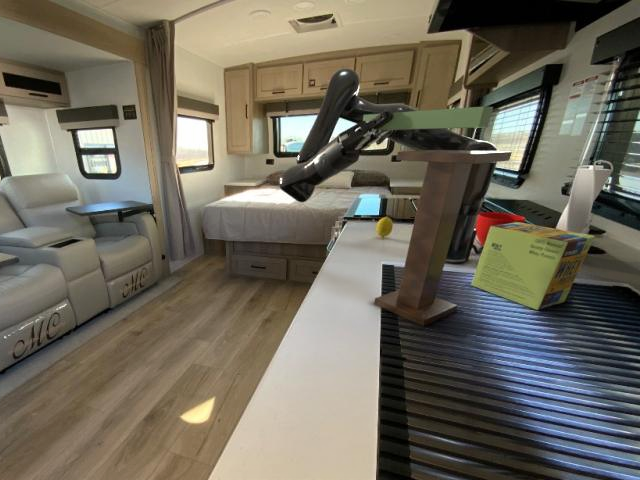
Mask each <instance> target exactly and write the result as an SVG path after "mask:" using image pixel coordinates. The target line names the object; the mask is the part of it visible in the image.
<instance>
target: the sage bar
mask: <svg viewBox="0 0 640 480" xmlns="http://www.w3.org/2000/svg"><path fill="white" fill-rule="evenodd" d="M493 109H494V107H493V106H474V107H473V106H472V107H460V108H458V107H457V108H443V109H441V108H440V109H428V110H427V109H426V110H419V111H412V112H398V113H392V115H393V118H392V120H390V121H389V122H388V123H386V124H385V125H383V126H382V127H381V128H379V129H376V130H407V129H449V130H450V129H482V128H483V129H484V128H486V129H487V128H488V127H489V123H490V122H491V121H490V120H491V117H492V113H493ZM378 115H379V114H369V115H364V116H363V121H365V122H367V121H368V120H370V119H374V118H375V117H377V116H378Z"/></svg>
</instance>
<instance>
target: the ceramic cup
mask: <svg viewBox="0 0 640 480" xmlns="http://www.w3.org/2000/svg"><path fill="white" fill-rule="evenodd" d="M517 222H520V223H525V222H526V217H524V216H522V215H518V214H514V213H506V212H493V211H492V212H491V211H488V212H479V216H478V219H477V222H476V226H475V230H477V234H476V238H477V240H478V241H479V243H480V245H481V246H484V245H485V242H486V239H487V236H488V233H489V230H490V227H491V226H494V225H502V224H509V223H517Z"/></svg>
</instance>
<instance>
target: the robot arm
mask: <svg viewBox="0 0 640 480" xmlns="http://www.w3.org/2000/svg"><path fill="white" fill-rule="evenodd" d="M360 86H361V80H360V76H359V75H358V73H357V72H356V71H355V70H354V69H351V68H347V67H346V68H345V67H344V68H341V69H339V70H337V71H335V72H334V73H333V74H332V75H331V77H330V78H329V80H328V83H327V85H326V91H325V95H324V97H323V101H322V103H321V106H320V109H319V110H318V112H317V113H318V114H317V115H316V118H315V120H314V122H313V124H312V126H311V129H310V130H309V132H308V135H307V136H306V139H305V140H304V142H303V145H302V146H301V148H300V151H299V152H298V155H297V157H296V164H295V165H292V166H290V167H288V168H287V169H285V170H284V171H283V172H282V173H281V174H280V176H279V178H278V186H279V188H280V190H281V191H282V192H284V193H286V194H287V195H288V196H289V197H291V198H292V199H293V200H295V201H297V202H298V203H305V202H307V201H308V200H309V199H311V197H312V196H313V194H314V192H315V189H316V186H319V185H321V184H323V183H324V182H326V181H327V180H329V179H331V178H333V177H334V176H337V175H338V174H340V173H342V172H343V171H345V170H346V169H348V168H349V167H351V166H353V165H354V164H356V163H357V162H358V161H359V159H360V158H361V155H362V151H364V150H366V149H368V148H370V147H371V145H373V144H374V143H375V144H376V146H380V145H381V144H382V143H384V141H385V140H386V139H388V140H391V141H392V142H394V143H396V144H398V145H400V146H402V147H405V148H408V149H410V150H412V151H423V150H460V151H498V149H497V147H496V146H495V145H494V144H493V143H491V142H489V141H485V140H478V139H474V138H471V137H468V136H465V135H462V134H459V133H457V132H455V131H453V130H451V129H450V128H449V129H407V130H376V129H379V128H381V127H382V126H383V125H385V124H386V123H388V122H389V121H390V120H392V118H393V115H392V113H398V112H412V111H420V110H419V109H417V108H414V107H413V106H410V105H407V104H404V103H387V104H386V103H385V104H382V103H381V104H378V103H373V102H370V101H367V100H365V99H364V98H361V97H360V96H358V95H359V92H360V88H361V87H360ZM369 114H379V115H378V116H377V117H375V118H374V119H370V120H368V121H367V122H365V121H363V116H364V115H369ZM340 119H342V120H344V121H348V122H351V123H354V125H352V126H351V127H349V128H347V129H345V130H344V131H342V132H340V133H338V134H337V136H335V137H334V138H333V136H334V133H335V130H336V127H337V125H338V122H339V120H340ZM332 138H333V139H332ZM497 164H498V162H490V163H479V164H472V166H471V170H470V173H469V177H468V181H467V184H466V188H465V191H464V195H463V199H462V202H461V206H460V209H459V213H458V217H457V220H456V224H455V228H454V231H453V235H452V238H451V242H450V246H449V249H448V253H447V256H446V260H445V263H448V264H449V263H450V264H461V263H465V262H469V259H470V256H471V252H472V249H473V252H474V253H475V254H476V255H477V254H478V255H479V254H480V253H482V251H483V248H484V245H481V246H480V247H479V248H478V247H477V245H475V244H474V243H475V240H476V238H477V235H476V234H477V230H476V222H477V219H478V216H479V214H480V213H481V209H482V205H483V203H484V200H485V197H486V195H487V193H488V191H489V188H490V185H491V182H492V180H493V177H494V173H495V170H496V167H497Z"/></svg>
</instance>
